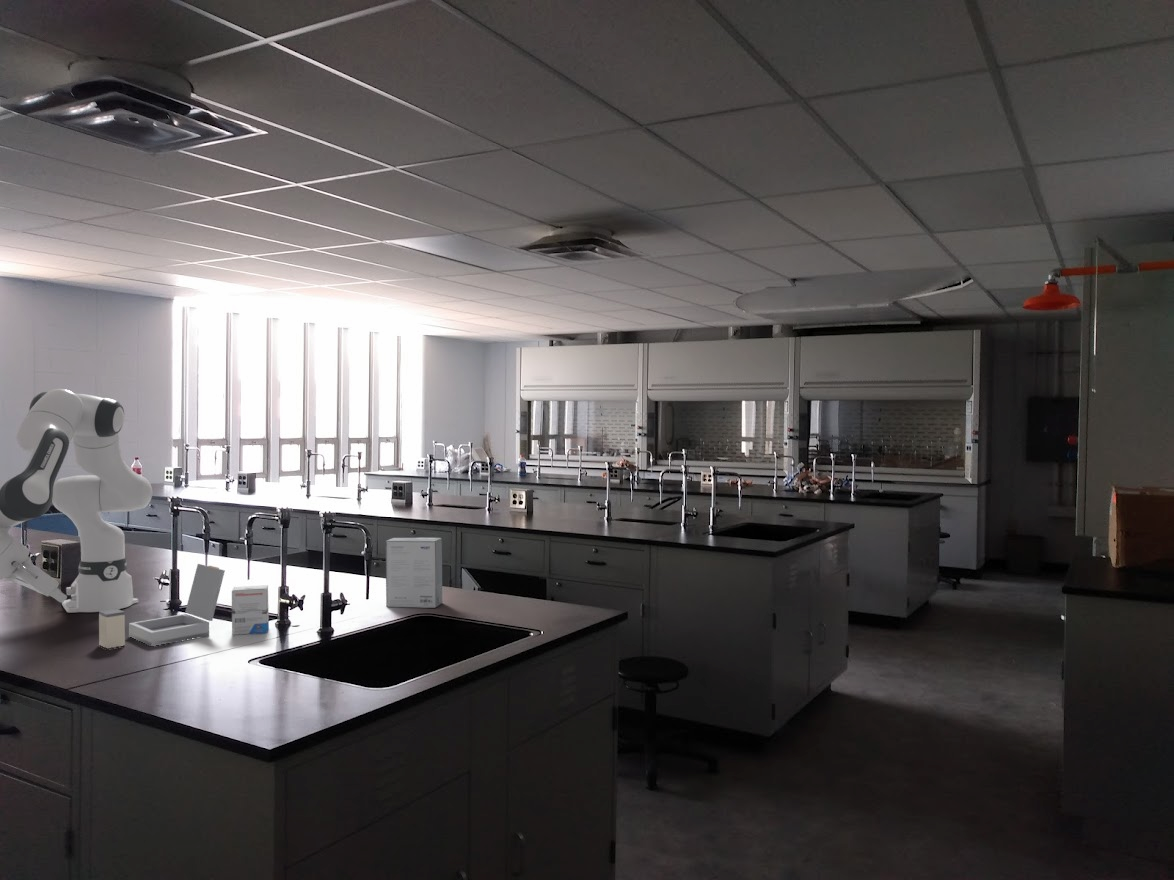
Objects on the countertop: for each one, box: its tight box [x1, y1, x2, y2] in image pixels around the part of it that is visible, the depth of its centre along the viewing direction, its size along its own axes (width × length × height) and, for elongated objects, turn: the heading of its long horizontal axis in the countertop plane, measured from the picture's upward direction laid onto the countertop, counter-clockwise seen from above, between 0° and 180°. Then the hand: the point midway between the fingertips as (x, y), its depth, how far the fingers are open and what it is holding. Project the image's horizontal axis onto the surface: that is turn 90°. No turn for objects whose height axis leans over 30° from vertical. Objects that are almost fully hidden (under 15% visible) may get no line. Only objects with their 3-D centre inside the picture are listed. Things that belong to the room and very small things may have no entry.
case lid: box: [184, 563, 226, 622], centre depth 216 cm, size 14×13×2 cm
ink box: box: [231, 584, 270, 636], centre depth 214 cm, size 9×5×12 cm, turn 106°
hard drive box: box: [385, 537, 443, 609], centre depth 247 cm, size 16×8×20 cm, turn 84°
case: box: [128, 613, 210, 647], centre depth 209 cm, size 14×14×4 cm
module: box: [98, 609, 126, 648], centre depth 200 cm, size 5×4×8 cm
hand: (57, 596), depth 191 cm, fingers open, 8 cm apart
